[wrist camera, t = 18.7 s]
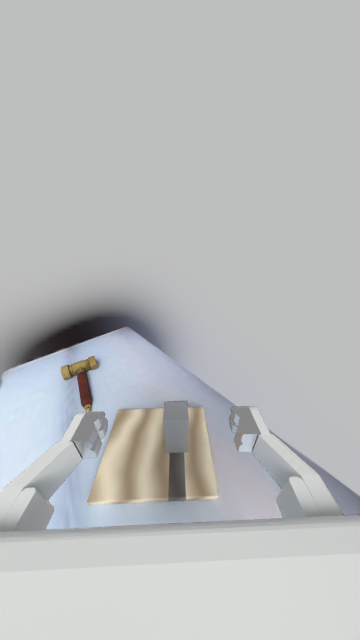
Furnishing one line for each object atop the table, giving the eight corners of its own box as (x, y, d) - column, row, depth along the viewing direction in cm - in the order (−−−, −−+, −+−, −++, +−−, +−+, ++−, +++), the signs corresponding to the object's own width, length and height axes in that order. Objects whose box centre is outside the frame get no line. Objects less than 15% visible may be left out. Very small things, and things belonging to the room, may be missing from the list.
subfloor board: (202, 410, 41) (203, 406, 41) (217, 498, 27) (218, 495, 26) (119, 413, 41) (118, 409, 40) (89, 504, 27) (87, 501, 26)
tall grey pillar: (186, 432, 35) (187, 399, 30) (188, 452, 32) (188, 419, 27) (167, 432, 35) (164, 400, 30) (166, 453, 32) (162, 419, 27)
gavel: (107, 396, 42) (62, 417, 37) (110, 406, 45) (68, 428, 39) (93, 353, 57) (60, 364, 52) (96, 362, 59) (64, 373, 54)
